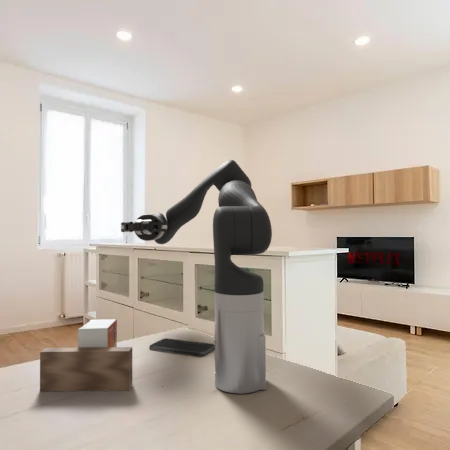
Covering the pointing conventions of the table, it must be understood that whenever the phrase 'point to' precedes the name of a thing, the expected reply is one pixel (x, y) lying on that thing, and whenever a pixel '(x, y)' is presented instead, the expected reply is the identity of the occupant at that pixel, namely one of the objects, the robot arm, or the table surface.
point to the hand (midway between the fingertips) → (136, 226)
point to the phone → (182, 347)
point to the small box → (98, 333)
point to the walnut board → (86, 369)
